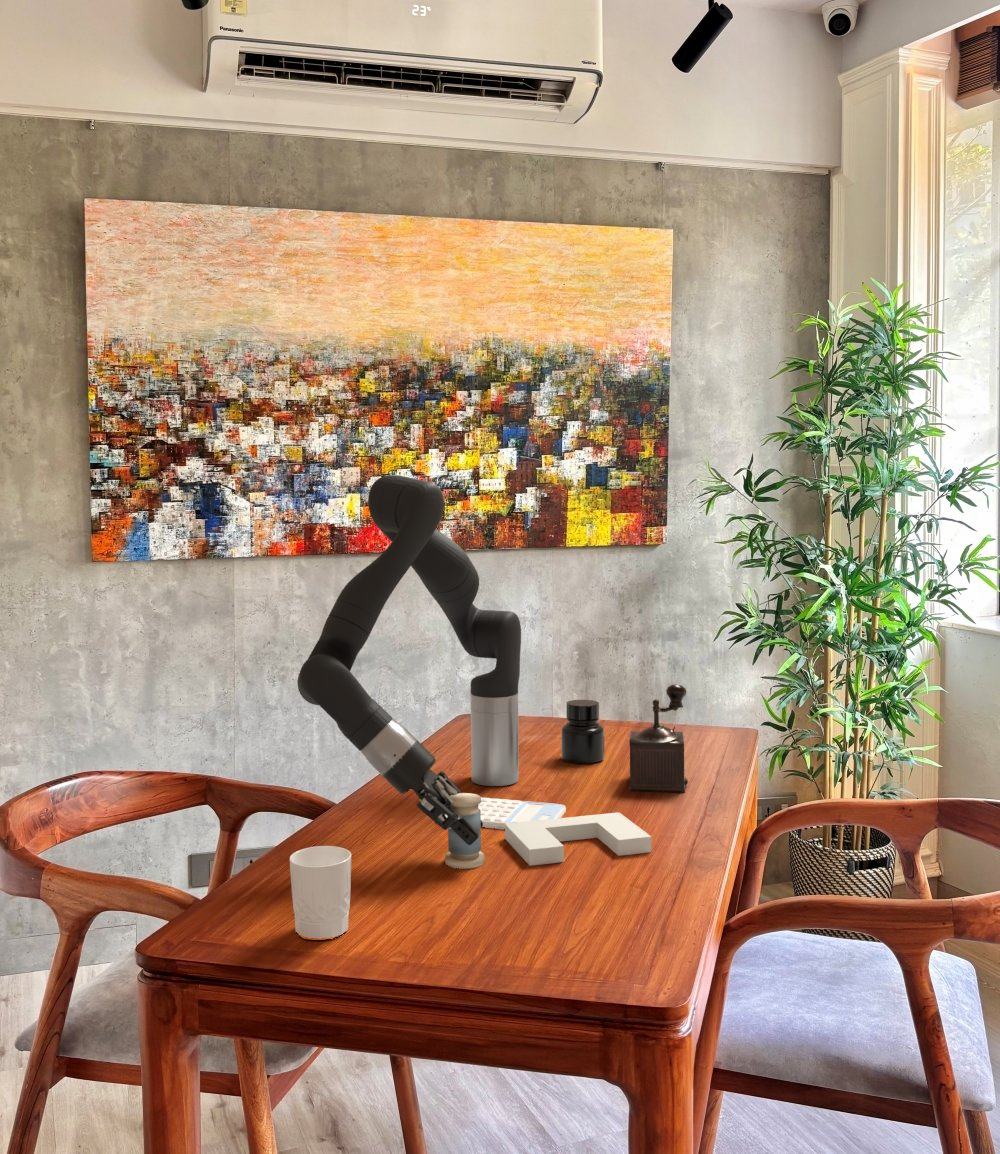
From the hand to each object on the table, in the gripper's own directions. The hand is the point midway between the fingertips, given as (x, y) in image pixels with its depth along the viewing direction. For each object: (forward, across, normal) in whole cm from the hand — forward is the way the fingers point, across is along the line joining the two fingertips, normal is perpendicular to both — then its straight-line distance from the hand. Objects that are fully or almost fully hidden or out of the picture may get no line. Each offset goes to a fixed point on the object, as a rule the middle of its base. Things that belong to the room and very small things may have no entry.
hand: (476, 834), depth 164 cm
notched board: (+14, +9, -8) cm, 18 cm away
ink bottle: (+14, +63, -7) cm, 65 cm away
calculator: (+5, +23, +2) cm, 24 cm away
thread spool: (+2, 0, +4) cm, 5 cm away
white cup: (-9, -27, +15) cm, 32 cm away
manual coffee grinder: (+24, +47, -18) cm, 56 cm away
